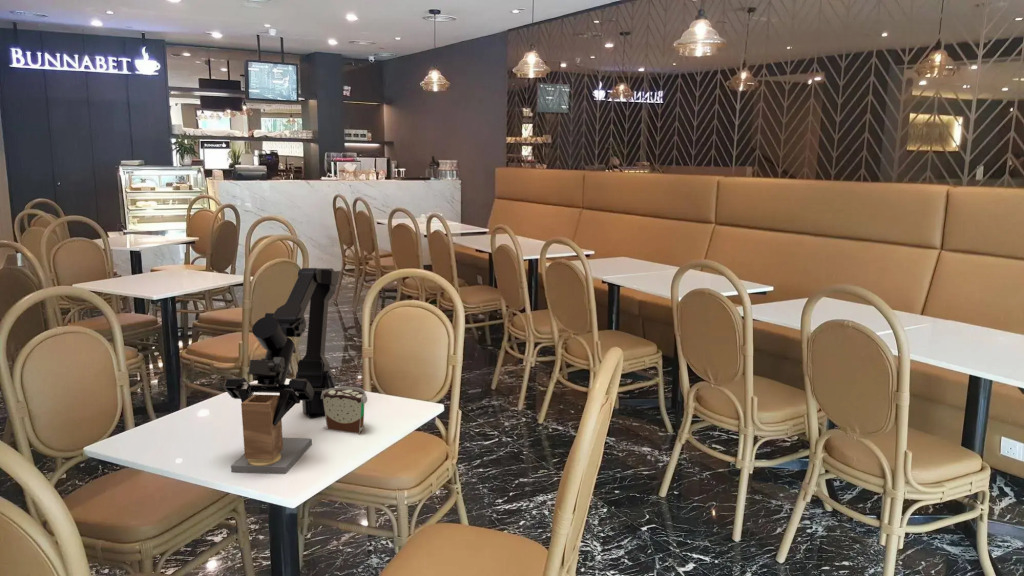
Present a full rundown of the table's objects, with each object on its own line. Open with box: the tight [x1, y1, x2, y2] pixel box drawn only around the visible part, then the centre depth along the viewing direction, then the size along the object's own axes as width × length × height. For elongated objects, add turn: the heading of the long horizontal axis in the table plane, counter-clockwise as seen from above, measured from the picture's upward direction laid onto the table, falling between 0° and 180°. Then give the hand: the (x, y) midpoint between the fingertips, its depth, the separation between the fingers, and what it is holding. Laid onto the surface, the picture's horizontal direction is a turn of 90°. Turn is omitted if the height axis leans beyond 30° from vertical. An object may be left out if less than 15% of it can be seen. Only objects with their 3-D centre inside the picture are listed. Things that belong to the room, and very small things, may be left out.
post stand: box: [230, 437, 313, 475], centre depth 156 cm, size 16×12×5 cm
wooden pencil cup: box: [240, 394, 284, 460], centre depth 151 cm, size 6×6×12 cm
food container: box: [321, 386, 368, 435], centre depth 174 cm, size 12×6×10 cm, turn 71°
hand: (259, 424), depth 149 cm, fingers closed on wooden pencil cup, 6 cm apart
